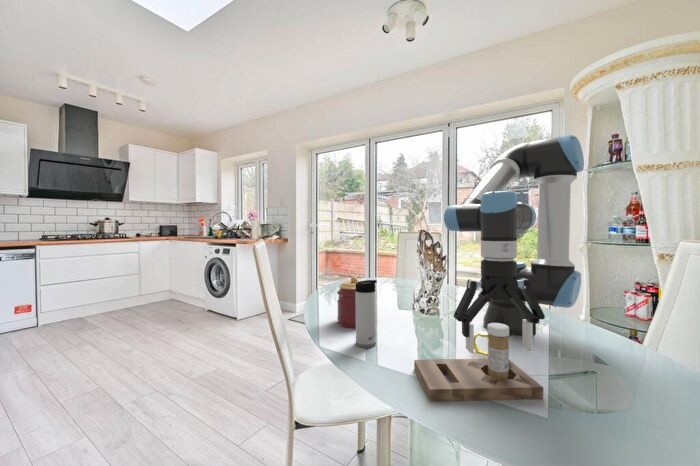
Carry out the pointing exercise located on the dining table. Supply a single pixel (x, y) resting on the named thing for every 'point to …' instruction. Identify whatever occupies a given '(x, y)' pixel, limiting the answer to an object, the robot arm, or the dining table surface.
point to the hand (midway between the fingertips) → (498, 349)
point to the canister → (347, 303)
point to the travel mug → (365, 313)
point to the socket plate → (473, 381)
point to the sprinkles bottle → (498, 350)
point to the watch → (482, 334)
